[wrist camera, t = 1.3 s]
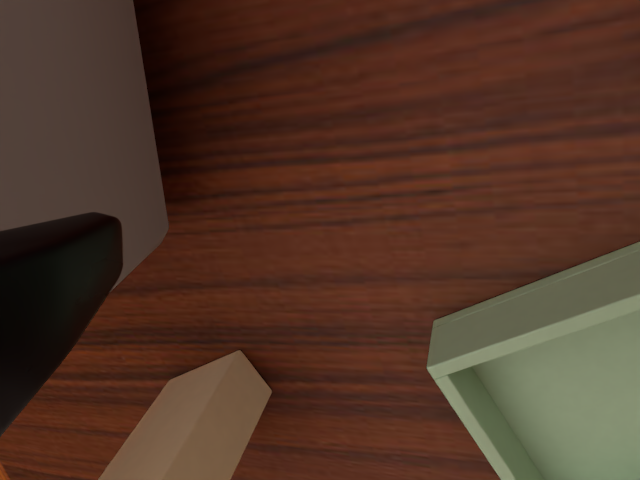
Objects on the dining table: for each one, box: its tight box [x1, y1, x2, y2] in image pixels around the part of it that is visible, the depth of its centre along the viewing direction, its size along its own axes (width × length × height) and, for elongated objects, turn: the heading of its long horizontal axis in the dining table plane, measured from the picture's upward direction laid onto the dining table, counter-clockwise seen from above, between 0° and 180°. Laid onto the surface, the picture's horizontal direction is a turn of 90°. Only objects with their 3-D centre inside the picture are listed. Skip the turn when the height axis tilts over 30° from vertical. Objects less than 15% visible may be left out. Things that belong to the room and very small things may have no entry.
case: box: [426, 242, 640, 480], centre depth 23 cm, size 11×11×3 cm
